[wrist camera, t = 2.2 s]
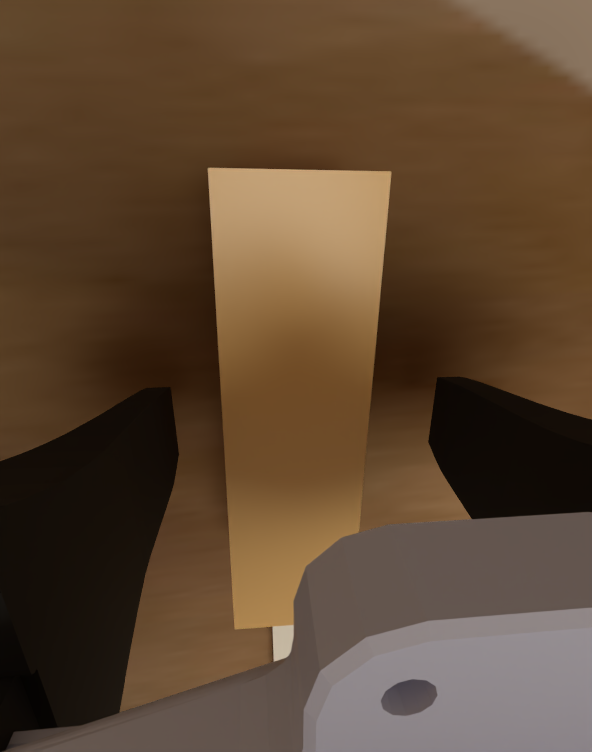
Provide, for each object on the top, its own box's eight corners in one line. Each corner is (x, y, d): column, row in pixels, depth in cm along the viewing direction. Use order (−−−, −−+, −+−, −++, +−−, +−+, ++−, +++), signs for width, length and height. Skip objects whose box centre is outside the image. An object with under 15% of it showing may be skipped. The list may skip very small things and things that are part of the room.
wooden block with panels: (239, 522, 17) (234, 629, 13) (222, 176, 12) (207, 167, 8) (328, 517, 17) (352, 620, 13) (347, 178, 12) (394, 171, 8)
